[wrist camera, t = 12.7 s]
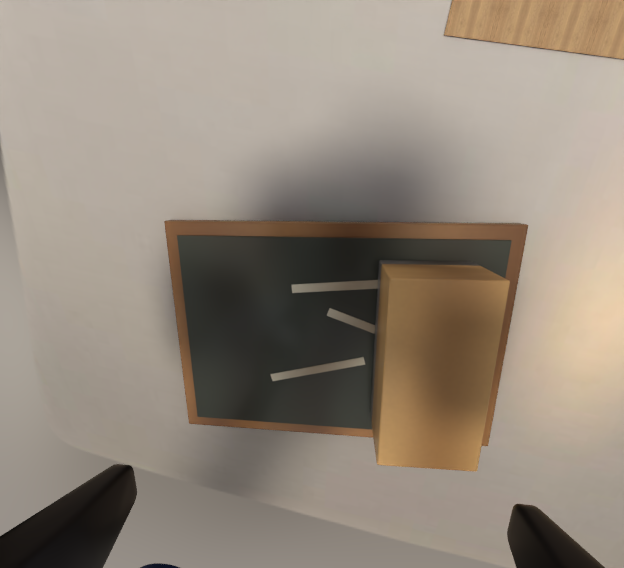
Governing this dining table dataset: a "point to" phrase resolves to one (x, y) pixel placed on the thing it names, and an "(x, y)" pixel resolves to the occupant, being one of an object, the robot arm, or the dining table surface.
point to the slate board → (304, 313)
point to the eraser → (434, 361)
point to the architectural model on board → (543, 24)
